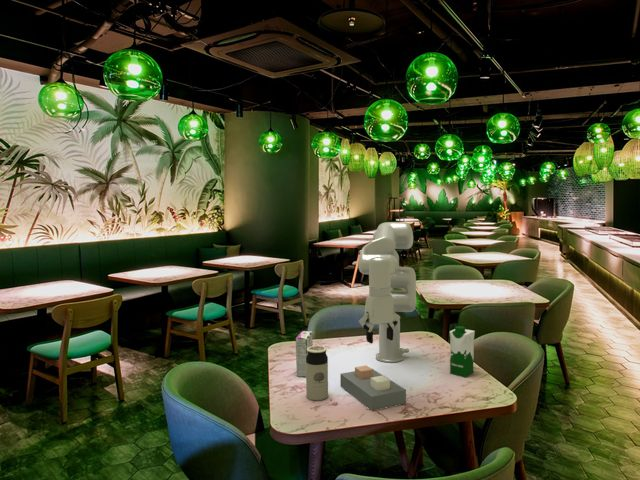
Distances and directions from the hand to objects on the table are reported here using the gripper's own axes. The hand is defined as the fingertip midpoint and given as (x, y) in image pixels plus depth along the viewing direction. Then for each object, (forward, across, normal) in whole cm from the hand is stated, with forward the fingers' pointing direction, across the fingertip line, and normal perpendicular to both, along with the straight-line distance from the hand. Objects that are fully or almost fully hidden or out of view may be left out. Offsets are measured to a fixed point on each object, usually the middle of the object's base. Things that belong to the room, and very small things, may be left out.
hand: (379, 340), depth 161 cm
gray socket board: (+22, 0, -6) cm, 23 cm away
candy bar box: (+22, +14, -38) cm, 46 cm away
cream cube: (+19, 0, 0) cm, 19 cm away
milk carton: (+22, -45, -9) cm, 51 cm away
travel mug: (+22, +19, -13) cm, 32 cm away
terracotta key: (+19, 0, -12) cm, 22 cm away
